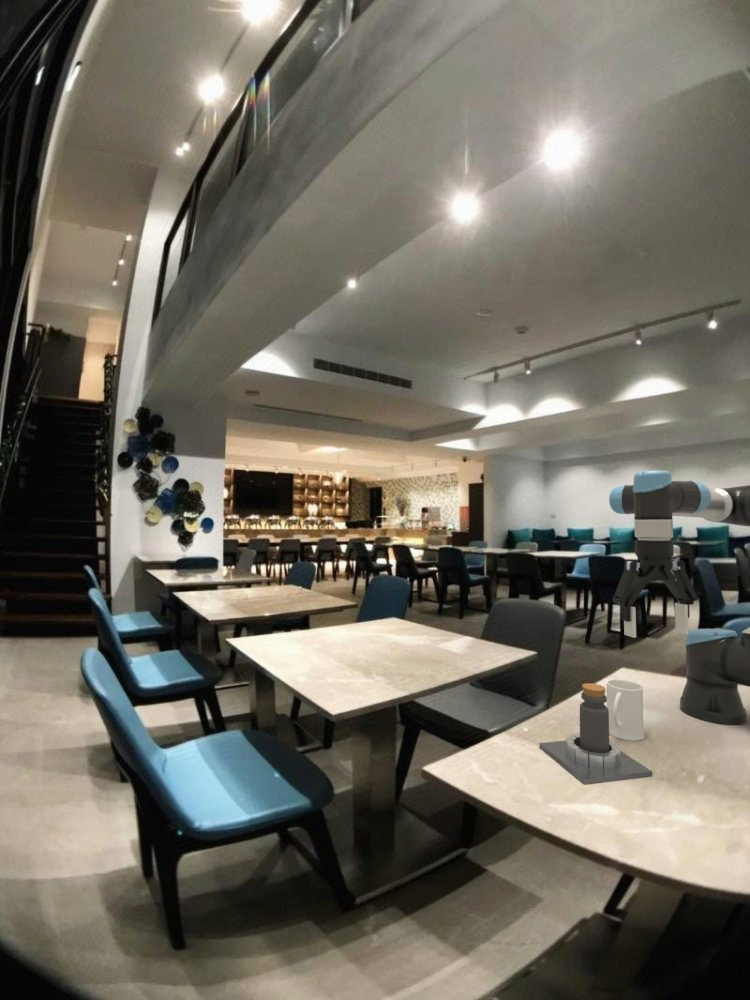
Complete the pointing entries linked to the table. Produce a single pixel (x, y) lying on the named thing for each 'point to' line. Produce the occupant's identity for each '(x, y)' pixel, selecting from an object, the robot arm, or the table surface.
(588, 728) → the bottle
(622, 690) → the mug
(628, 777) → the collar plate
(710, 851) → the table surface
